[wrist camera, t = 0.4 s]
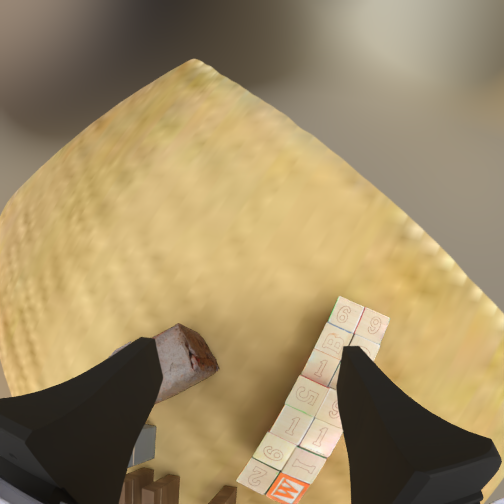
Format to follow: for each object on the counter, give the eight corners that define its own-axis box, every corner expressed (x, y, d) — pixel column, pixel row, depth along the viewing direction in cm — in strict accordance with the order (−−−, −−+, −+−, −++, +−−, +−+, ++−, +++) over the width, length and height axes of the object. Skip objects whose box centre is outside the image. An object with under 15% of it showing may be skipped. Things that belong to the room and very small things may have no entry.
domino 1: (153, 470, 34) (124, 482, 27) (152, 498, 32) (124, 514, 25) (143, 467, 35) (113, 478, 28) (143, 495, 33) (114, 510, 26)
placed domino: (156, 426, 37) (126, 432, 30) (154, 458, 35) (125, 468, 28) (146, 424, 37) (115, 428, 30) (144, 455, 36) (113, 464, 28)
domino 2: (179, 476, 34) (154, 492, 26) (178, 505, 32) (153, 524, 25) (169, 474, 34) (141, 488, 27) (167, 502, 32) (141, 520, 25)
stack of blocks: (333, 313, 40) (342, 285, 29) (375, 332, 38) (401, 311, 27) (255, 455, 34) (233, 481, 23) (297, 475, 32) (293, 510, 21)
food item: (143, 414, 38) (104, 418, 29) (122, 366, 42) (81, 357, 33) (224, 373, 39) (200, 370, 30) (197, 323, 43) (168, 305, 34)
